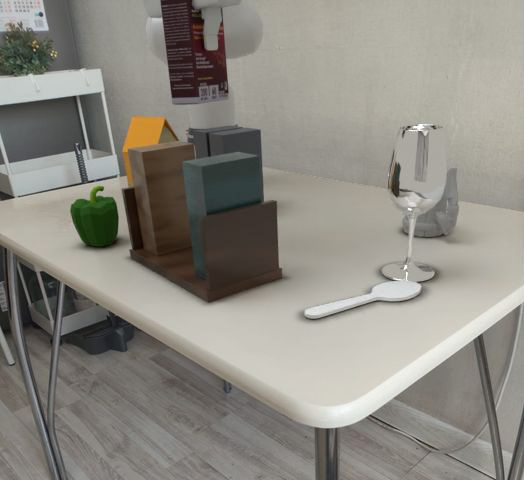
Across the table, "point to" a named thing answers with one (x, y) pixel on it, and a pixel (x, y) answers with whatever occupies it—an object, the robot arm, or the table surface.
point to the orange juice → (146, 137)
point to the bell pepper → (96, 219)
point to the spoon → (369, 298)
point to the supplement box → (192, 56)
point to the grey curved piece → (439, 212)
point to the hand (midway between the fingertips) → (195, 51)
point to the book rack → (201, 219)
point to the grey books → (229, 143)
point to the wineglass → (415, 187)
